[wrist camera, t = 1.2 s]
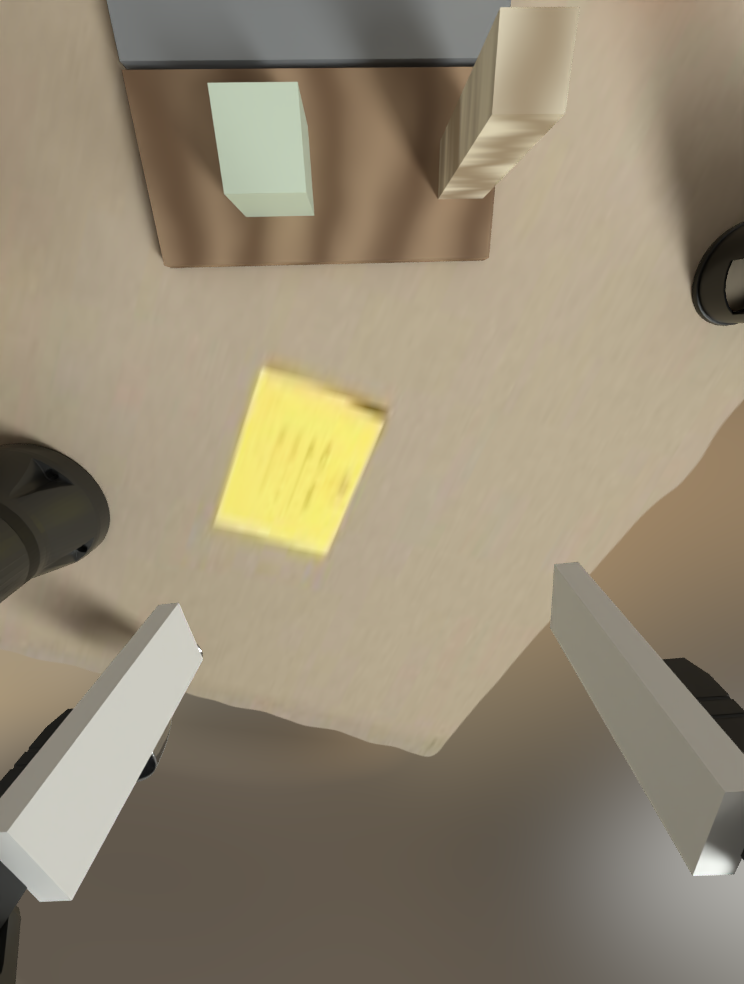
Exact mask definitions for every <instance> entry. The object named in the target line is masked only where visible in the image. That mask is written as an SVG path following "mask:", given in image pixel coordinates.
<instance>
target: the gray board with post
mask: <svg viewBox="0 0 744 984" xmlns="http://www.w3.org/2000/svg"><path fill="white" fill-rule="evenodd" d="M107 5H108V9H109V14H110V19H111V23H112V28H113V32H114V37H115V42H116V46H117V51H118V55H119V60H120V62H121V63H122V64H123V65H124V66H125V68H126V69H127V70H164V69H276V68H388V67H474V65H475V62H476V60H477V58H478V56H479V54H480V51H481V49H482V47H483V45H484V42H485V40H486V38H487V36H488V34H489V31H490V29H491V27H492V25H493V22H494V20H495V18H496V16H497V14H498V11H499V9H500V7H510V6H511V0H107Z"/></svg>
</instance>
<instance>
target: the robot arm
mask: <svg viewBox="0 0 744 984" xmlns="http://www.w3.org/2000/svg"><path fill="white" fill-rule="evenodd" d="M109 523H110V514H109V508H108V504H107V501H106V499H105V496H104V494H103V492H102V491H101V489H100V487H99V486H98V484H97V483H96V482H95V480H94V479H93V478H92V477H91V476H90V475H89V474H88V473H87V472H86V471H85V470H84V469H83V468H82V467H80V466H79V465H78V464H76V463H75V462H74V461H72V460H71V459H69V458H67V457H66V456H64V455H62V454H60V453H58V452H55V451H53V450H50V449H48V448H44V447H41V446H37V445H31V444H8V445H3V446H0V603H1V602H2V601H3V600H5V599H6V598H7V597H8V596H10V595H11V594H12V593H13V592H15V591H16V590H17V589H18V588H20V587H21V586H22V585H23V584H25V583H26V582H27V581H29V580H30V579H32V578H34V577H37V576H40V575H43V574H45V573H48V572H51V571H53V570H56V569H59V568H62V567H64V566H67V565H70V564H73V563H75V562H77V561H79V560H80V559H82V558H84V557H85V556H87V555H88V554H89V553H90V552H91V551H93V550H94V549H95V548H96V547H97V546H98V545H99V544H100V543H101V542H102V541H103V540H104V538H105V536H106V534H107V532H108V528H109ZM550 628H551V630H552V632H553V634H554V635H555V637H556V639H557V640H558V642H559V644H560V646H561V648H562V649H563V651H564V653H565V654H566V656H567V658H568V660H569V662H570V663H571V665H572V667H573V668H574V670H575V672H576V674H577V675H578V677H579V679H580V681H581V682H582V684H583V686H584V688H585V689H586V691H587V693H588V695H589V696H590V698H591V700H592V702H593V703H594V705H595V707H596V709H597V710H598V712H599V714H600V715H601V717H602V719H603V721H604V722H605V724H606V726H607V728H608V729H609V731H610V733H611V735H612V736H613V738H614V740H615V742H616V743H617V745H618V747H619V748H620V750H621V752H622V754H623V755H624V757H625V759H626V761H627V762H628V764H629V766H630V768H631V769H632V771H633V773H634V774H635V776H636V778H637V780H638V782H639V783H640V785H641V787H642V789H643V790H644V792H645V794H646V796H647V797H648V799H649V801H650V802H651V804H652V806H653V808H654V809H655V811H656V813H657V815H658V816H659V818H660V820H661V822H662V823H663V825H664V827H665V828H666V830H667V832H668V834H669V836H670V837H671V839H672V841H673V842H674V844H675V846H676V848H677V849H678V851H679V853H680V855H681V856H682V858H683V860H684V862H685V863H686V865H687V867H688V869H689V870H690V872H691V874H692V875H693V876H701V875H702V876H703V875H727V874H728V875H729V874H735V871H736V869H737V867H738V865H739V863H740V861H741V859H743V860H744V710H743V709H742V708H741V707H740V706H739V705H738V704H737V703H736V702H735V701H734V700H733V699H730V697H729V694H728V693H727V692H726V691H725V690H724V689H723V688H722V687H721V686H720V685H719V684H718V683H717V682H716V681H715V680H714V679H713V678H712V677H711V676H710V675H709V674H708V673H706V672H705V671H703V670H702V669H700V668H699V667H697V666H696V665H694V664H693V663H691V662H690V661H688V660H687V659H685V658H675V659H661V658H660V657H659V655H658V654H657V653H656V652H655V651H654V650H653V648H652V647H651V646H650V645H649V644H648V643H647V642H646V640H645V639H644V638H643V637H642V636H641V634H640V633H639V632H638V631H637V630H636V629H635V627H634V626H633V625H632V624H631V623H630V622H629V621H628V619H627V618H626V617H625V616H624V615H623V614H622V612H621V611H620V610H619V609H618V608H617V607H616V605H615V604H614V603H613V602H612V601H611V600H610V598H609V597H608V596H607V595H606V594H605V593H604V592H603V591H602V589H601V588H600V587H599V586H598V585H597V584H596V582H595V581H594V580H593V579H592V578H591V577H590V575H589V574H588V573H587V572H586V571H585V569H584V568H583V567H582V566H581V565H580V564H579V563H578V562H572V563H563V564H554V576H553V592H552V608H551V624H550ZM202 660H203V658H202V655H201V653H200V651H199V648H198V646H197V644H196V641H195V639H194V637H193V635H192V632H191V630H190V628H189V625H188V623H187V621H186V618H185V616H184V614H183V611H182V609H181V607H180V604H179V603H171V604H162V605H158V606H157V607H156V609H155V610H154V611H153V612H152V613H151V615H150V616H149V617H148V618H147V620H146V621H145V622H144V623H143V624H142V626H141V627H140V628H139V629H138V631H137V632H136V633H135V634H134V635H133V637H132V638H131V639H130V640H129V642H128V643H127V644H126V645H125V646H124V648H123V649H122V650H121V651H120V653H119V654H118V655H117V656H116V657H115V659H114V660H113V661H112V662H111V664H110V665H109V666H108V667H107V668H106V670H105V671H104V672H103V673H102V675H101V676H100V677H99V678H98V679H97V681H96V682H95V683H94V684H93V686H92V687H91V688H90V689H89V690H88V692H87V693H86V694H85V696H84V697H83V698H82V699H81V700H80V702H79V703H78V704H77V705H76V707H75V708H74V709H67V710H66V711H65V712H64V713H63V714H61V715H60V716H59V717H58V718H57V719H55V720H54V721H53V722H52V723H51V724H50V725H48V726H47V727H46V728H45V729H44V731H43V732H42V733H41V734H40V735H39V736H38V738H37V739H36V740H35V741H34V742H33V743H32V745H31V746H30V747H29V750H28V752H25V753H24V754H23V755H22V756H21V758H20V759H19V760H18V761H17V762H16V763H15V765H14V768H13V769H11V770H10V771H9V772H8V773H7V774H6V775H5V776H4V777H3V779H2V780H1V781H0V984H15V982H16V970H17V958H18V946H19V933H20V921H21V916H20V911H19V908H18V907H17V906H16V904H17V903H18V901H19V900H20V898H21V896H22V895H23V893H24V892H25V890H26V889H28V890H29V891H30V892H31V893H32V894H33V895H34V896H35V897H36V898H37V899H38V900H39V901H40V902H43V901H68V900H72V899H73V897H74V895H75V893H76V891H77V889H78V888H79V886H80V884H81V882H82V880H83V879H84V877H85V875H86V873H87V871H88V869H89V868H90V866H91V864H92V862H93V860H94V858H95V857H96V855H97V853H98V851H99V849H100V847H101V846H102V844H103V842H104V840H105V838H106V836H107V835H108V833H109V831H110V829H111V827H112V825H113V824H114V822H115V820H116V818H117V816H118V814H119V813H120V811H121V809H122V807H123V805H124V803H125V802H126V800H127V798H128V796H129V794H130V792H131V790H132V789H133V787H134V785H135V783H136V781H137V780H138V778H139V776H140V774H141V772H142V770H143V769H144V767H145V765H146V763H147V761H148V759H149V758H150V756H151V754H152V752H153V750H154V748H155V747H156V745H157V743H158V741H159V739H160V737H161V736H162V734H163V732H164V730H165V728H166V726H167V725H168V723H169V721H170V719H171V717H172V715H173V714H174V712H175V710H176V708H177V706H178V704H179V703H180V701H181V699H182V697H183V695H184V693H185V692H186V690H187V688H188V686H189V684H190V682H191V681H192V679H193V677H194V675H195V673H196V671H197V670H198V668H199V666H200V664H201V662H202Z"/></svg>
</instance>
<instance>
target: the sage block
mask: <svg viewBox="0 0 744 984" xmlns="http://www.w3.org/2000/svg"><path fill="white" fill-rule="evenodd" d="M207 84H208V91H209V97H210V104H211V110H212V117H213V124H214V130H215V137H216V143H217V150H218V157H219V163H220V170H221V176H222V183H223V190H224V194H225V195H226V196H227V197H228V199H229V200H230V201H231V202H232V203H233V204H234V205H235V206H236V207H237V208H238V209H239V210H240V211H241V212H242V213H243V214H244V215H245V216H246V217H271V216H314V204H313V190H312V177H311V163H310V150H309V136H308V125H307V121H306V117H305V112H304V108H303V104H302V99H301V95H300V91H299V86H298V82H229V83H207Z"/></svg>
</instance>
